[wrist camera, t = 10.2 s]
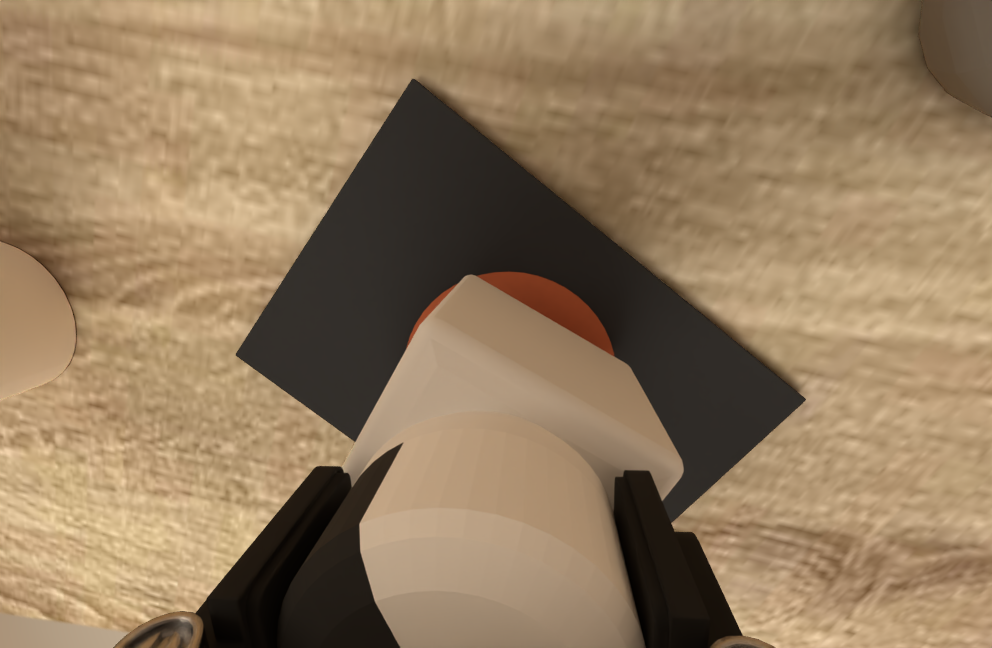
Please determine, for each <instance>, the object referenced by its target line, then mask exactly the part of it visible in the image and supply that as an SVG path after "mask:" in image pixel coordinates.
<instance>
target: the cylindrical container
mask: <svg viewBox="0 0 992 648" xmlns="http://www.w3.org/2000/svg"><path fill="white" fill-rule="evenodd" d="M75 343H76V328H75V321H74V317H73V313H72V309H71V307H70V304H69V302H68V300H67V298H66V296H65V293H64V292H63V290H62V289H61V287H60V286H59V284H58V283H57V281H56V280H55V278H54V277H53V276H52V275H51V274H50V273H49V272H48V271H47V270H46V268H45V267H44V266H43V265H41V264H40V263H39V262H38V261H36V260H35V259H34V258H33V257H32V256H30V255H28V254H27V253H25V252H23V251H22V250H20V249H18V248H16V247H13V246H11V245H8V244H6V243H3V242H0V401H1V400H4V399H6V398H9V397H12V396H14V395H17V394H20V393H22V392H25V391H28V390H30V389H33V388H36V387H38V386H41V385H44V384H46V383H48V382H50V381H52V380H54V379H56V378H57V377H58V376H59V375H60V374H61V373H62V372H64V370H65V369H66V367H67V366H68V364H69V363H70V361H71V358H72V356H73V353H74V350H75Z"/></svg>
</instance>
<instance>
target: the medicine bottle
mask: <svg viewBox="0 0 992 648" xmlns="http://www.w3.org/2000/svg"><path fill="white" fill-rule="evenodd" d="M341 468H342V469H343V471H344V473H349V475H350V478H351V485H352V488H351V490H350V491H349V493H348V495H347V496H346V498H345V499H344V501H343V502H342V504H341V505H340V507H339V509H338V510H337V512H336V513H335V515H334V516H333V518H332V520H331V521H330V523H329V524H328V526H327V527H326V529H325V530H324V532H323V534H322V535H321V537H320V538H319V540H318V541H317V543H316V545H315V546H314V548H313V549H312V551H311V552H310V554H309V555H308V557H307V559H306V560H305V562H304V563H303V565H302V566H301V568H300V570H299V571H298V573H297V574H296V576H295V577H294V579H293V580H292V582H291V584H290V586H289V588H288V591H287V593H286V595H285V597H284V600H283V602H282V606H281V610H280V614H279V618H278V626H277V648H646V646H645V642H644V638H643V633H642V629H641V625H640V621H639V617H638V613H637V609H636V605H635V601H634V596H633V592H632V588H631V584H630V580H629V576H628V572H627V568H626V564H625V559H624V555H623V551H622V547H621V543H620V539H619V535H618V531H617V527H616V523H615V518H614V483H615V477H623V473H624V470H647V471H650V473H651V475H652V478H653V480H654V483H655V485H656V487H657V490H658V492H659V495H660V497H661V500H662V501H663V499H664V498H665V497H666V496H667V494H668V493H669V492H670V491H671V490H672V488H673V487H674V486H675V485H676V483H677V482H678V481H679V480H680V478H681V477H682V474H683V472H684V468H683V462H682V459H681V457H680V456H679V454H678V452H677V450H676V448H675V447H674V445H673V443H672V441H671V439H670V438H669V436H668V434H667V432H666V430H665V429H664V427H663V425H662V423H661V421H660V420H659V418H658V416H657V414H656V412H655V411H654V409H653V407H652V405H651V403H650V402H649V400H648V398H647V396H646V394H645V393H644V391H643V389H642V387H641V385H640V384H639V382H638V380H637V378H636V376H635V375H634V373H633V371H632V369H631V368H630V367H629V366H628V365H627V364H626V363H624V362H622V361H621V360H619V359H617V358H616V357H614V356H612V355H610V354H609V353H607V352H605V351H604V350H602V349H600V348H599V347H597V346H595V345H593V344H592V343H590V342H588V341H587V340H585V339H583V338H581V337H580V336H578V335H576V334H575V333H573V332H571V331H569V330H568V329H566V328H564V327H563V326H561V325H559V324H557V323H556V322H554V321H552V320H551V319H549V318H547V317H545V316H544V315H542V314H540V313H539V312H537V311H535V310H533V309H532V308H530V307H528V306H527V305H525V304H523V303H521V302H520V301H518V300H516V299H515V298H513V297H511V296H510V295H508V294H506V293H504V292H503V291H501V290H499V289H498V288H496V287H494V286H492V285H491V284H489V283H487V282H486V281H484V280H482V279H480V278H479V277H477V276H475V275H467V276H465V277H464V278H463V279H462V280H461V281H460V282H459V283H458V284H457V285H456V286H455V287H454V289H453V290H452V291H451V292H450V293H449V294H448V295H447V296H446V297H445V298H444V299H443V300H442V301H441V303H440V304H439V305H438V306H437V307H436V308H435V309H434V310H433V311H432V312H431V313H430V314H429V315H428V317H427V318H426V319H425V320H424V321H423V322H422V323H421V324H420V325H419V327H418V329H417V331H416V333H415V334H414V336H413V338H412V340H411V342H410V344H409V345H408V347H407V349H406V351H405V353H404V354H403V356H402V358H401V360H400V362H399V364H398V365H397V367H396V369H395V371H394V373H393V374H392V376H391V378H390V380H389V382H388V384H387V385H386V387H385V389H384V391H383V393H382V394H381V396H380V398H379V400H378V402H377V404H376V405H375V407H374V409H373V411H372V413H371V414H370V416H369V418H368V420H367V422H366V424H365V425H364V427H363V429H362V431H361V433H360V434H359V436H358V438H357V440H356V442H355V444H354V445H353V447H352V449H351V451H350V453H349V454H348V456H347V458H346V460H345V462H344V464H343V465H342V467H341Z"/></svg>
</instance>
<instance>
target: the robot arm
mask: <svg viewBox="0 0 992 648" xmlns="http://www.w3.org/2000/svg"><path fill="white" fill-rule="evenodd" d="M351 488H352V485H351V478H350V475H349V473H344V471H343V469H342V468H341V467H338V466H318V467H316V468H314V469H313V471H312V472H311V473H310V474H309V475H308V477H307V478H306V479H305V480H304V481H303V483H302V484H301V485H300V486H299V487H298V489H297V490H296V491H295V492H294V494H293V495H292V496H291V497H290V498H289V500H288V501H287V502H286V503H285V504H284V506H283V507H282V508H281V509H280V510H279V512H278V513H277V514H276V515H275V516H274V518H273V519H272V520H271V521H270V523H269V524H268V525H267V526H266V527H265V529H264V530H263V531H262V532H261V533H260V535H259V536H258V537H257V538H256V539H255V541H254V542H253V543H252V544H251V545H250V547H249V548H248V549H247V550H246V552H245V553H244V554H243V555H242V556H241V558H240V559H239V560H238V561H237V562H236V564H235V565H234V566H233V567H232V568H231V570H230V571H229V572H228V573H227V574H226V576H225V577H224V578H223V579H222V580H221V582H220V583H219V584H218V585H217V587H216V588H215V589H214V590H213V591H212V593H211V594H210V595H209V596H208V597H207V600H206V601H205V602H204V604H203V605H202V606H201V607H200V608H199V610H198V611H197V612H196V613H193V612H185V611H180V612H173V613H168V614H165V615H162V616H159V617H156V618H154V619H152V620H150V621H148V622H146V623H144V624H142V625H140V626H138V627H137V628H136V629H134V630H133V631H131V632H130V633H129V634H127V635H126V636H125V637H124V638H123V639H122V640H120V641H119V642H118V643H117V644H116V645H115V647H113V648H277V626H278V618H279V614H280V610H281V606H282V602H283V600H284V597H285V595H286V593H287V591H288V588H289V586H290V584H291V582H292V580H293V579H294V577H295V576H296V574H297V573H298V571H299V570H300V568H301V566H302V565H303V563H304V562H305V560H306V559H307V557H308V555H309V554H310V552H311V551H312V549H313V548H314V546H315V545H316V543H317V541H318V540H319V538H320V537H321V535H322V534H323V532H324V530H325V529H326V527H327V526H328V524H329V523H330V521H331V520H332V518H333V516H334V515H335V513H336V512H337V510H338V509H339V507H340V505H341V504H342V502H343V501H344V499H345V498H346V496H347V495H348V493H349V491H350V490H351ZM614 518H615V523H616V527H617V531H618V535H619V539H620V543H621V547H622V551H623V555H624V559H625V564H626V568H627V572H628V576H629V580H630V584H631V588H632V592H633V596H634V601H635V605H636V609H637V613H638V617H639V621H640V625H641V629H642V633H643V638H644V642H645V646H646V648H775V647H774V646H772V645H770V644H767V643H765V642H763V641H761V640H759V639H755V638H751V637H746V636H743V635H742V633H741V631H740V629H739V627H738V625H737V622H736V620H735V618H734V616H733V614H732V612H731V610H730V607H729V605H728V603H727V601H726V599H725V597H724V594H723V592H722V590H721V588H720V586H719V584H718V582H717V579H716V577H715V575H714V573H713V571H712V569H711V567H710V564H709V562H708V560H707V558H706V556H705V554H704V552H703V549H702V547H701V545H700V543H699V541H698V539H697V537H696V536H695V534H694V533H692V532H674V529H673V527H672V524H671V522H670V519H669V517H668V514H667V512H666V510H665V507H664V505H663V502H662V500H661V497H660V495H659V492H658V490H657V487H656V485H655V483H654V480H653V478H652V475H651V473H650V471H647V470H624V473H623V477H615V483H614Z"/></svg>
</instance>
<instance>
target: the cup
mask: <svg viewBox="0 0 992 648" xmlns="http://www.w3.org/2000/svg"><path fill="white" fill-rule="evenodd" d="M919 38H920V42H921V46H922V50H923V54H924V57H925V61H926V65H927V68H928V69H929V71H930V72H931V73H932V74H933V76H934V77H935V78H936V79H937V81H938V82H939V83H940V84H941V85H942V87H943V88H944V89H945V90H946V92H947V93H949V94H950V95H952V96H953V97H955V98H957V99H958V100H960V101H962V102H964V103H966V104H968V105H969V106H971V107H973V108H975V109H977V110H979V111H980V112H982V113H984V114H986V115H988V116H990V117H992V0H922V6H921V16H920V25H919Z"/></svg>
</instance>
